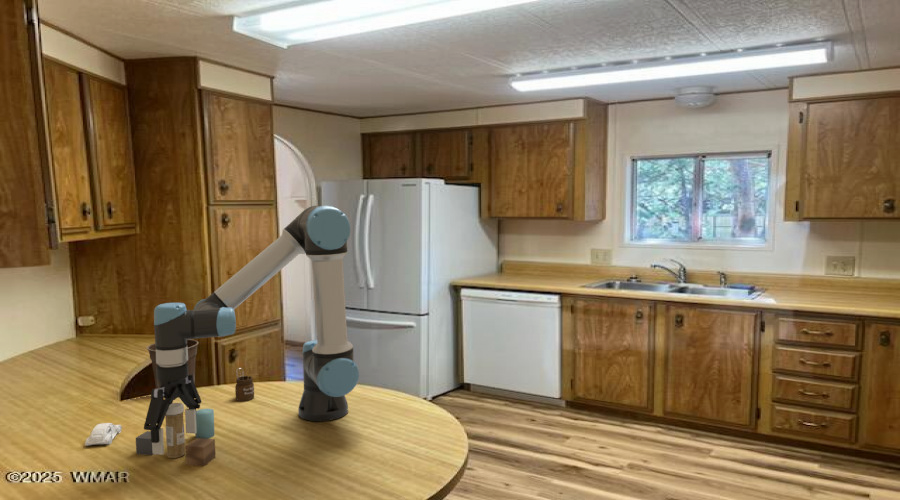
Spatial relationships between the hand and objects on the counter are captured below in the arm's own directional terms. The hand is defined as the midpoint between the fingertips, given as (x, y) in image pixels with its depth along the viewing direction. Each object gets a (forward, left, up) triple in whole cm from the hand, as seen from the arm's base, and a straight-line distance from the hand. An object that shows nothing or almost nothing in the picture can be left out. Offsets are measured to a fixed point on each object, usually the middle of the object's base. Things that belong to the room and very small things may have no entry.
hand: (175, 442), depth 157 cm
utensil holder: (+5, -44, -4) cm, 44 cm away
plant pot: (+34, -48, -4) cm, 59 cm away
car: (+26, -6, -4) cm, 27 cm away
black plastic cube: (+8, -1, -3) cm, 9 cm away
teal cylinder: (0, -13, -3) cm, 13 cm away
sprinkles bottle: (0, 0, -4) cm, 4 cm away
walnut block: (-9, +2, -3) cm, 9 cm away
